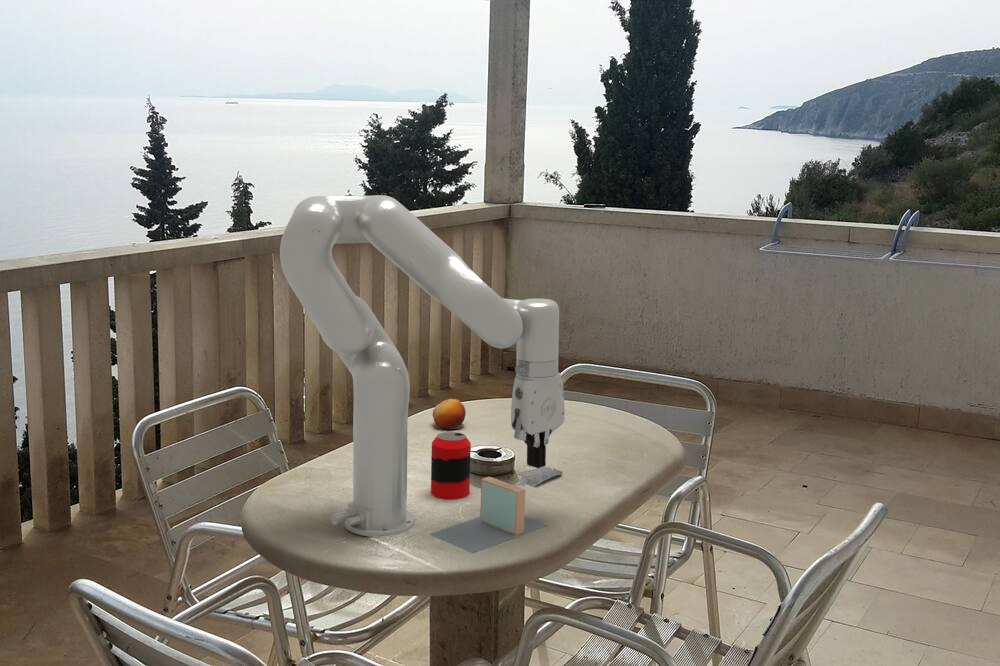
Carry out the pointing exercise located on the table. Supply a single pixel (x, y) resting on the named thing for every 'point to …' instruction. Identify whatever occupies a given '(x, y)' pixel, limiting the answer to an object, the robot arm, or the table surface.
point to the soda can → (450, 466)
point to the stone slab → (536, 476)
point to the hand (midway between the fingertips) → (536, 465)
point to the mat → (481, 534)
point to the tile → (502, 505)
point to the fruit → (449, 414)
